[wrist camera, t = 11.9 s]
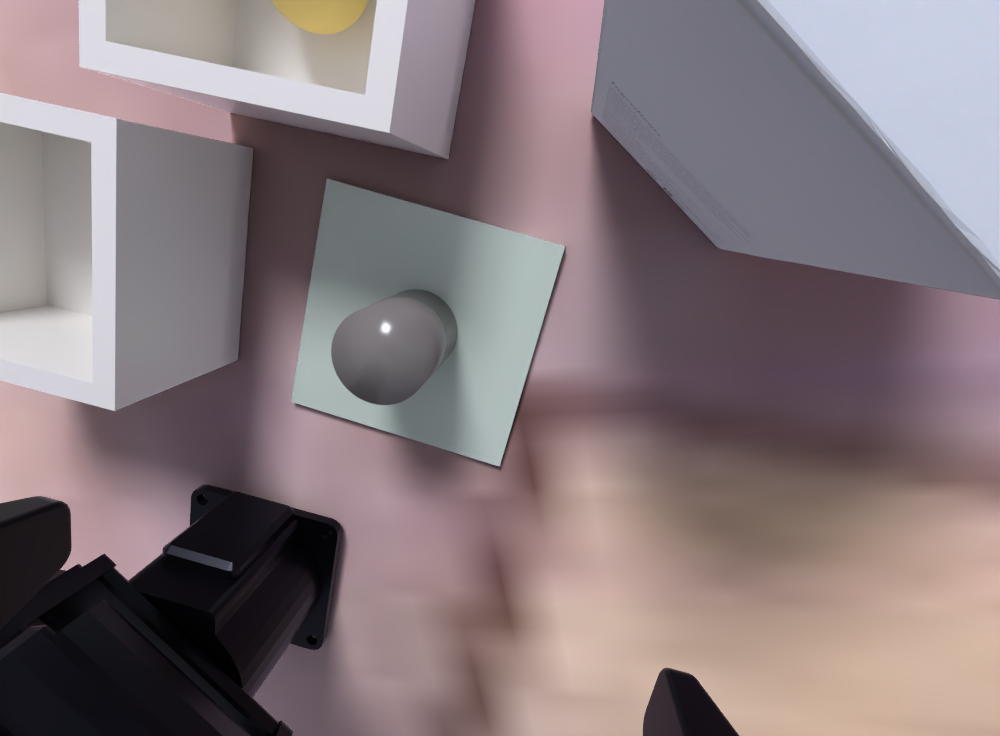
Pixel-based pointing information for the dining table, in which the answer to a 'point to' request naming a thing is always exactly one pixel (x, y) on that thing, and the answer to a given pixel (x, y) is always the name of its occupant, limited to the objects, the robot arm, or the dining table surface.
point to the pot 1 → (116, 253)
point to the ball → (321, 14)
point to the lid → (421, 320)
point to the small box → (819, 128)
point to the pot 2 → (294, 63)
